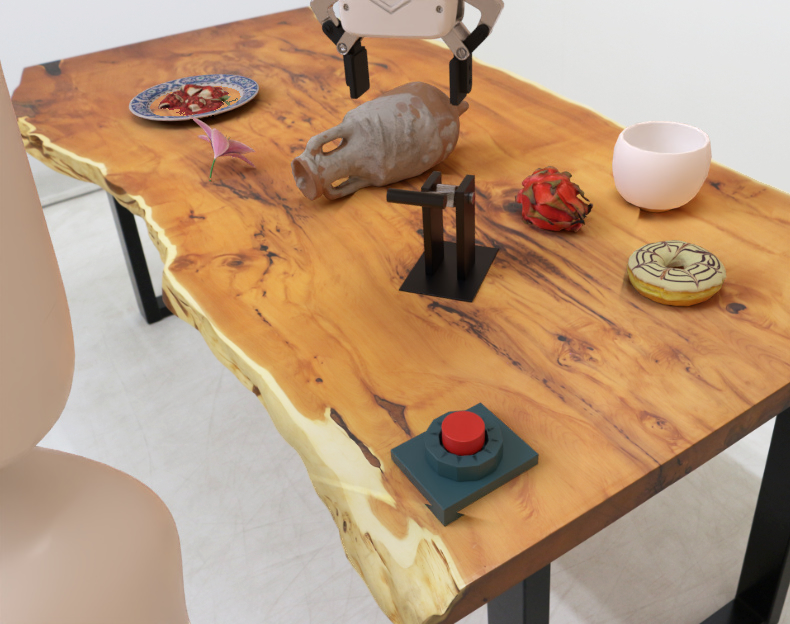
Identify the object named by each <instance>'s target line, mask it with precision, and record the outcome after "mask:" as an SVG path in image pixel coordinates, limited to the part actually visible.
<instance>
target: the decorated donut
mask: <svg viewBox="0 0 790 624" xmlns="http://www.w3.org/2000/svg"><path fill="white" fill-rule="evenodd" d="M626 273H627V275H628V280H629V283H630V284H631V285H632V286H633V288H634V289H635V290H636V291H637V292H638V293H639V295H641V296H643V297H644V298H647V299H650V300H651V301H653V302H656V303H659V304H660V305H661V304H662V305H664V306H665V305H666V306H667V305H668V306H674V307H690V306H693V305H698V304H700V303H704V302H707V301H708V300H710V299H711V298H713V296H715V294H717V293H718V292H719V291H720V290H721V288H722V287H723V284H724V282H725V280H726V279H727V277H728V276H727V270H726V267H725V265H724V264H723V262H722V260H721V259H720V258H718V257H717V256H716V255H715V254H714V253H713V252H711V251H709V250H708V249H706V248H704V247H702V246H700V245H697V244H695V243H691V242H687V241H683V240H680V239H671V240H662V241H661V240H660V241H656V242H651V243H647V244H644V245H642V246H640V247H638V248H637V249H635V250H634V251H633V252H632V254H631V255H630V256H629V258H628V262H627V265H626Z"/></svg>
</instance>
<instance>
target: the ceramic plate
mask: <svg viewBox="0 0 790 624" xmlns="http://www.w3.org/2000/svg"><path fill="white" fill-rule="evenodd" d="M214 86H222V87H228V88H232V89H235V90H237V91H239V93H240V96H241V97H240V99H239V100H238V98H236V99H237V100H238V101H237V102H236V103H234V104H232V105H230V102H232V101H236V99H235V100H232V101H229V102H228V101H226V100H228V99H229V98H230V97H231V96H228V94H229V93H228V92H227V91H224V90H223V89H222V88H221V87H214ZM177 90H180V91H177ZM259 91H260V86H259V83H258V82H257V81H256V80H254V79H252V78H250V77H246V76H243V75H238V74H230V73H229V74H227V73H223V74H222V73H213V74H200V75H192V76H185V77H181V78H176V79H172V80H168V81H165V82H162V83H159V84H156V85H153V86H151V87H148V88H146V89H144V90H142V91H141V92H139V93H138V94H137V95H135V96H134V97H133V98H132V99H131V100H130V102H129V105H128V109H129V111H130V112H131V113H132V114H133V115H134V116H136V117H139V118H141V119H145V120H150V121H161V122H177V121H180V122H181V121H191V120H190V119H191V118H190V117H189V116H188V115H190V116H192V117H194V118H200V119H201V120H202V119H204V118H203V117H206V118H208V117H207V116H210V117H215V116H217V115H220V114H223V113H226V112H229V111H232V110H234V109H237V108H239V107H242V106H243V105H245V104H247V103H249V102H250V101H252V100H253V99H254V98H255V97H256V96H257V95H258V93H259ZM170 92H173V93H172V94H168V95H167V96H166V97H165V98H164V99H163V100H162V101H161V102H160V104H159V106H158V109H162V108H163V109H166V108H168V109H169V110H174V109H180V111H179V112H180V113H179V112H176V113H179V114H180V115H181V114H183V113H184V112H185V114H183V116H160V115H156V114H154V113H153V112H152V111H151V109H150V106H151V104H152V103H153V102H154V101H155V100H156V99H158V98H159V97H161V96H163V95H166V94H167V93H170ZM222 101H223V102H225V103H226V104H227V105H228V106H227V107H224V108H221V109H218V108H220V107H221V106H222V105H224V103H223V102H222ZM216 109H218V110H216ZM214 110H215V111H214ZM182 112H183V113H182ZM192 114H193V115H192ZM184 115H186V116H184ZM212 115H214V116H212ZM210 117H209V118H210ZM200 119H199V120H200Z"/></svg>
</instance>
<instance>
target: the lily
mask: <svg viewBox="0 0 790 624" xmlns="http://www.w3.org/2000/svg"><path fill="white" fill-rule="evenodd" d="M188 116H189V117H190V118H191V119H193V120H192V121H194V122H195V123H196V124H197V125H198V126H199V127H200V128H201V129H202V130H203V131H204V133H205V134H206V135H205V134H198V135H197V138H198V139H201V140H203V141H205V142H207V143H210V145H211V149H212V151H213V154H214V156H213V160H212V164H211V168H210V172H209V177H208V182H212V178H213V177H212V176H213V171H214V167H215V163H216V161H217V159H218V158H220V157H231V156H232V157H231V158H232V159H237V158H238V159H239V160H242V161H244V162H245V163H247V164H249V165H250V166H251V167H253V168H255V169H256V168H257V167H256V166H255V164H254V163H253V162H252V161H250V159H249V158H247V157H246V156H245V154H249V153H250V154H251V153H256V150H254V148H252V147H250V146H249V145H247V144H245V143H243V142H241V141H239V140H236V139H232V137H231V136H228V135H227V134H226V135H225V134H224V133H223V132H222V131H220V130H219V129H217V128H215V127H213V128H211V127H210V126H209V125H208V124H207V123H205V121H204V122H203V121H202V120H200V119H197V118H194V117H192V116H190V115H188ZM227 137H228V138H227ZM233 157H235V158H233ZM209 178H211V180H209Z"/></svg>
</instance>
